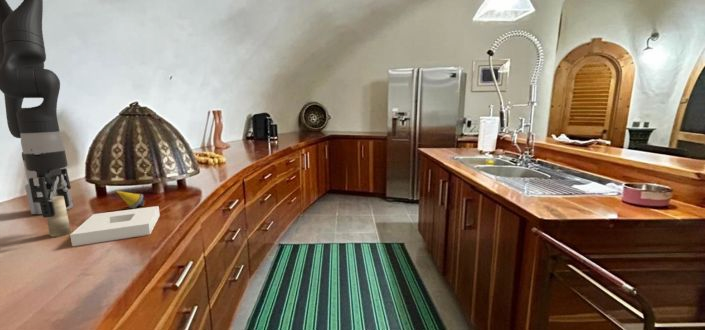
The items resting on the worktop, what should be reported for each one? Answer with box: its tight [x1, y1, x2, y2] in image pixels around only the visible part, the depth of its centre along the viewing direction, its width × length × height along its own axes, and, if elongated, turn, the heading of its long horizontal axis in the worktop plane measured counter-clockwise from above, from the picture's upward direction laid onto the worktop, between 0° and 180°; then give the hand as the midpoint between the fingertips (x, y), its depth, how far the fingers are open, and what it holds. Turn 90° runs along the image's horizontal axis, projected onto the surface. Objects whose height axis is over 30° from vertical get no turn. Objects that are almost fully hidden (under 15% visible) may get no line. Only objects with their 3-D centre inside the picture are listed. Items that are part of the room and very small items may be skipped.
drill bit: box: [115, 190, 146, 210], centre depth 102 cm, size 5×5×10 cm
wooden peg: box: [45, 196, 72, 238], centre depth 81 cm, size 4×4×10 cm
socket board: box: [69, 205, 161, 247], centre depth 84 cm, size 16×16×3 cm
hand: (57, 211), depth 81 cm, fingers open, 8 cm apart
